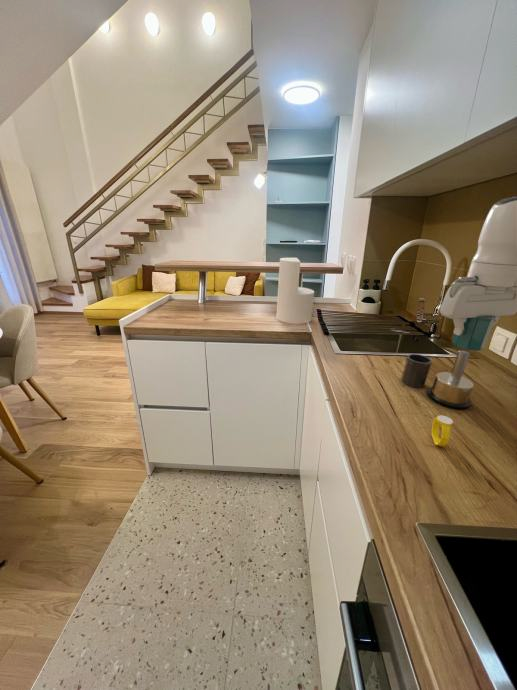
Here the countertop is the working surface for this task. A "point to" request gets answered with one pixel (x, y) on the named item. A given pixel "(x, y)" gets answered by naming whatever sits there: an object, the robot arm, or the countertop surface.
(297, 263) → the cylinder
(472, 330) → the teal cup
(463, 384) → the towel holder
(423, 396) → the countertop surface
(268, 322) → the countertop surface
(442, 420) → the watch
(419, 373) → the charcoal cup
